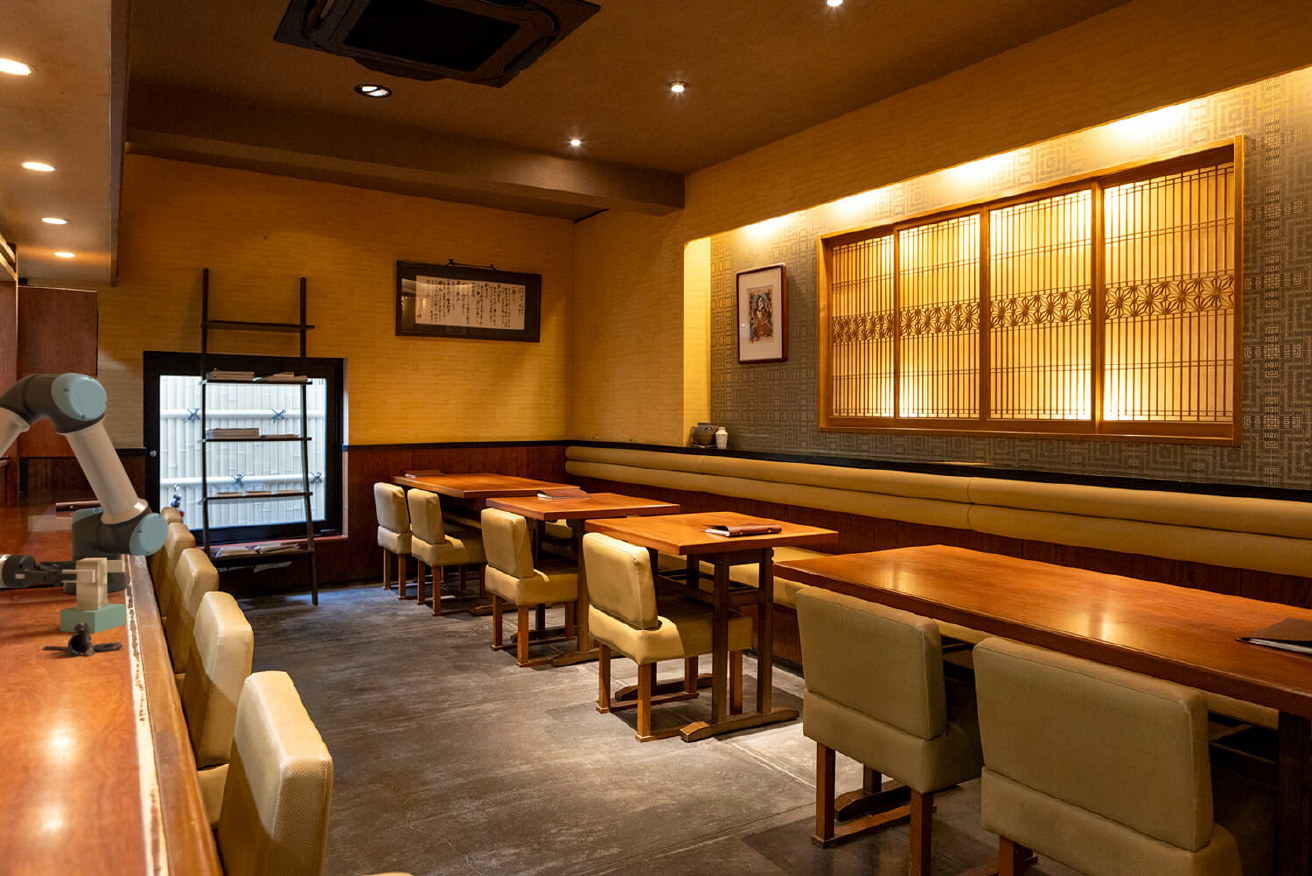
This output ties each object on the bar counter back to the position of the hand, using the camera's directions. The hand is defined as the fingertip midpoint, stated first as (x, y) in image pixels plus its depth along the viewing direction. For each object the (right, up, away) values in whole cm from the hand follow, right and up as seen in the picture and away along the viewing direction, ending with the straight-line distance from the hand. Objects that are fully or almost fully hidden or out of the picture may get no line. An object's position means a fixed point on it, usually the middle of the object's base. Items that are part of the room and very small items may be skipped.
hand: (109, 571), depth 203 cm
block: (-3, -8, -1) cm, 9 cm away
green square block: (-4, -13, 0) cm, 14 cm away
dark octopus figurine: (+7, -14, -20) cm, 25 cm away
